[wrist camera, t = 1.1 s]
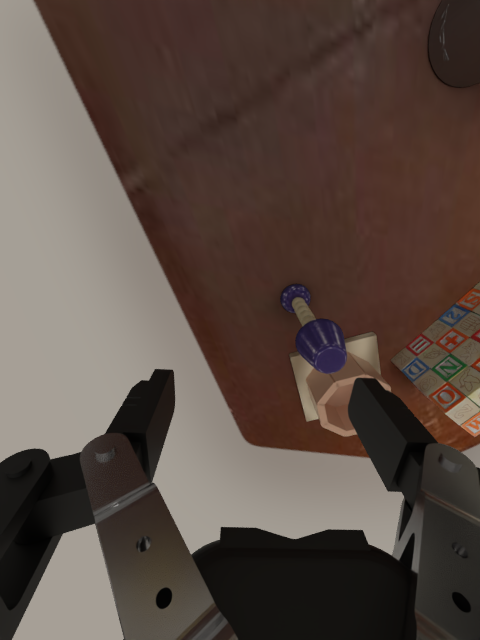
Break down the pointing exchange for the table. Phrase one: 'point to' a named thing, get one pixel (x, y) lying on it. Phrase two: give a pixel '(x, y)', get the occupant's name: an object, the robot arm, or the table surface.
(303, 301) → the toy lamp
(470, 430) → the stack of blocks
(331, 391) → the beige octagonal hollow piece
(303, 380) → the birch board
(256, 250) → the table surface
